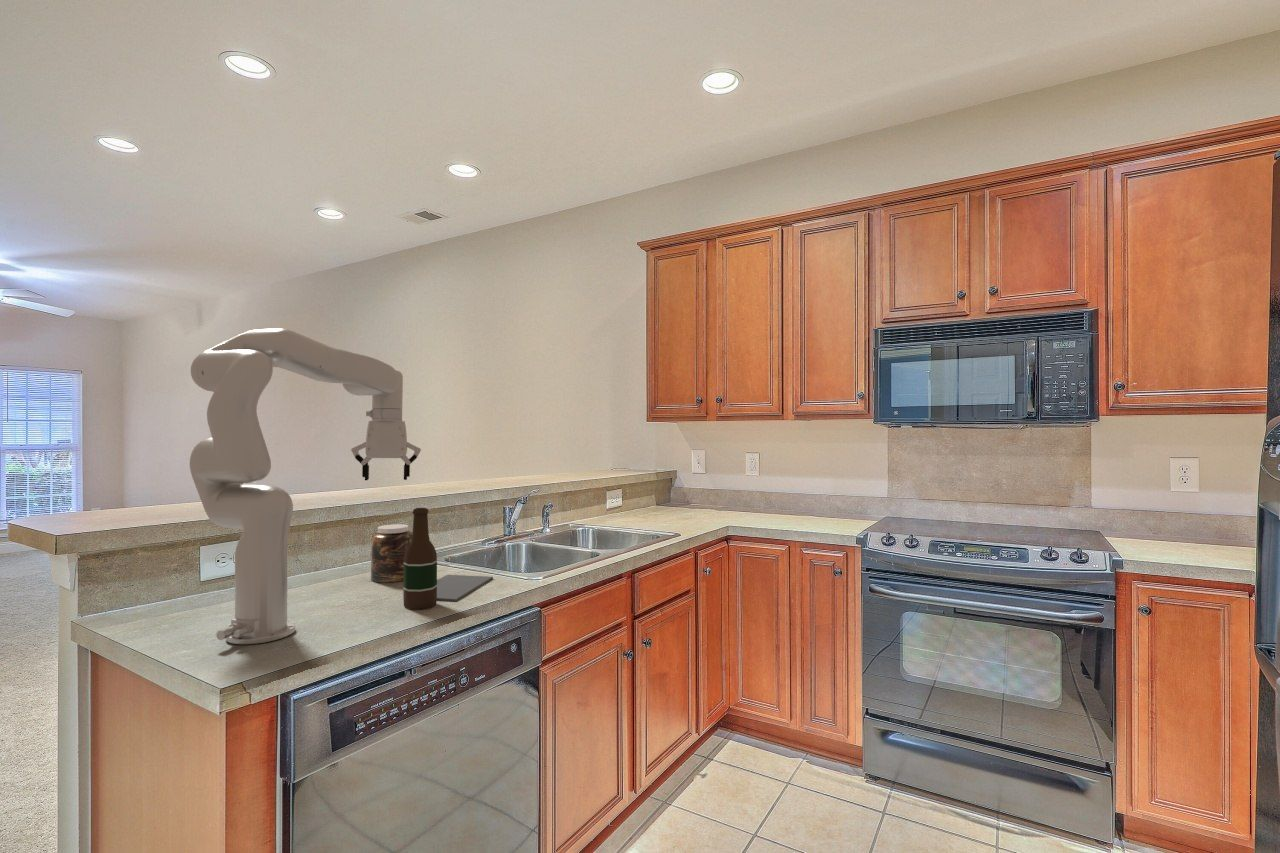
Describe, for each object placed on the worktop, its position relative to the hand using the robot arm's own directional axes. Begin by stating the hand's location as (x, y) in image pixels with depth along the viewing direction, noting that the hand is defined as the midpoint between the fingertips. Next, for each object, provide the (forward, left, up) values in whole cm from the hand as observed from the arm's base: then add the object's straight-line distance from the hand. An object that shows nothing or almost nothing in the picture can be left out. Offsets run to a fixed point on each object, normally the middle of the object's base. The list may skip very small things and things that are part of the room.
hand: (386, 479), depth 169 cm
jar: (+14, +6, -30) cm, 34 cm away
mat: (+6, -16, -30) cm, 34 cm away
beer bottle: (-11, -16, -30) cm, 36 cm away
